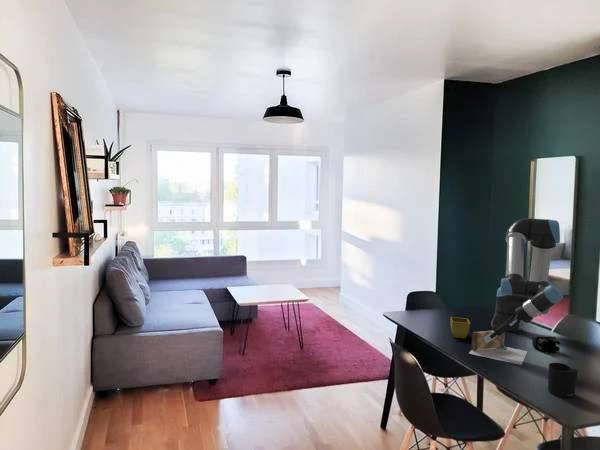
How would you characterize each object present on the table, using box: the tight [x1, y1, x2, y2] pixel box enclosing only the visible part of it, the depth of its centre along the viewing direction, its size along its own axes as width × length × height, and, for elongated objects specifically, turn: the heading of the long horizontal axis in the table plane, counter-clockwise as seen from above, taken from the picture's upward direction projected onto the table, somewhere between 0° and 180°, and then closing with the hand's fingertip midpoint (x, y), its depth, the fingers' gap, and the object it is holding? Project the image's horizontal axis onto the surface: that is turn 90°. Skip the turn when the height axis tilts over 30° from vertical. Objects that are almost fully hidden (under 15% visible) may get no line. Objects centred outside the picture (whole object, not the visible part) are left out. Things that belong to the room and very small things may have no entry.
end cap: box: [531, 336, 561, 355], centre depth 224 cm, size 10×7×7 cm
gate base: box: [468, 345, 528, 365], centre depth 217 cm, size 22×22×1 cm
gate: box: [470, 329, 506, 350], centre depth 220 cm, size 19×2×9 cm, turn 112°
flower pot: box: [449, 316, 471, 339], centre depth 239 cm, size 9×9×9 cm
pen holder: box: [547, 362, 579, 399], centre depth 175 cm, size 9×9×10 cm
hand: (485, 340), depth 217 cm, fingers closed
